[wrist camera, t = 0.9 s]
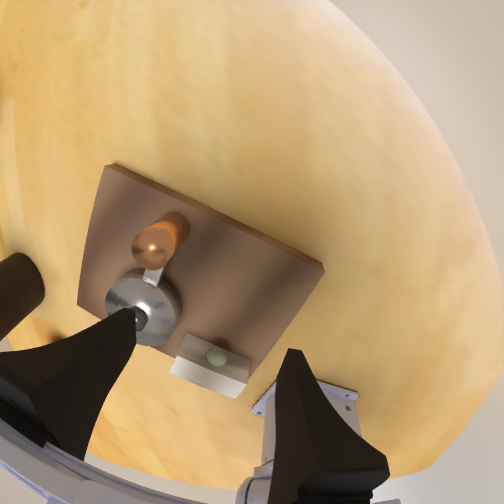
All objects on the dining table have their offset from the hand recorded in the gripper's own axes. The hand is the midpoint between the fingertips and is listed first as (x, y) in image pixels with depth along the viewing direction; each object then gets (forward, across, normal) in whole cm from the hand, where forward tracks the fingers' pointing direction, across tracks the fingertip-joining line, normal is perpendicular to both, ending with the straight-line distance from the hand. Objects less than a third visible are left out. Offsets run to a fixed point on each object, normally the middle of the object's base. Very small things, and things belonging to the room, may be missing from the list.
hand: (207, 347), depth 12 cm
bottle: (+11, +24, +9) cm, 27 cm away
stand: (+10, +4, +4) cm, 12 cm away
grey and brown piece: (+9, +6, +2) cm, 11 cm away
